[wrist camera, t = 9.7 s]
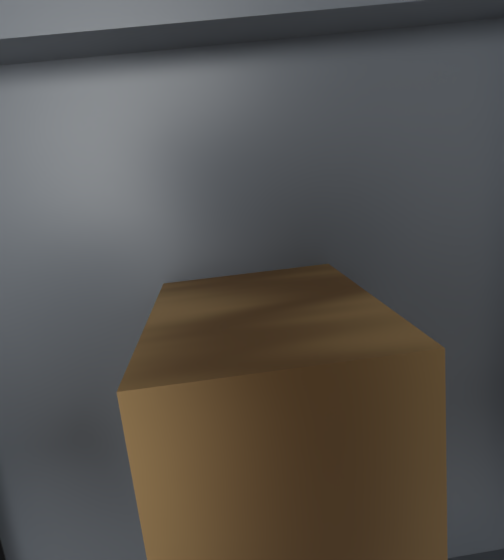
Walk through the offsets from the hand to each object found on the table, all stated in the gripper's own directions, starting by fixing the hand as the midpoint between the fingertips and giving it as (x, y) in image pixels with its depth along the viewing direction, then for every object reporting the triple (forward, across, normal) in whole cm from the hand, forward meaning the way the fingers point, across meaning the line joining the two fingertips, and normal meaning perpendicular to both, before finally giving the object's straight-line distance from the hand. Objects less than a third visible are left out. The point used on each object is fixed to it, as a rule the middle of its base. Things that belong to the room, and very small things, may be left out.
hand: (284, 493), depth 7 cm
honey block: (+6, 0, 0) cm, 6 cm away
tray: (+6, 0, 0) cm, 7 cm away
